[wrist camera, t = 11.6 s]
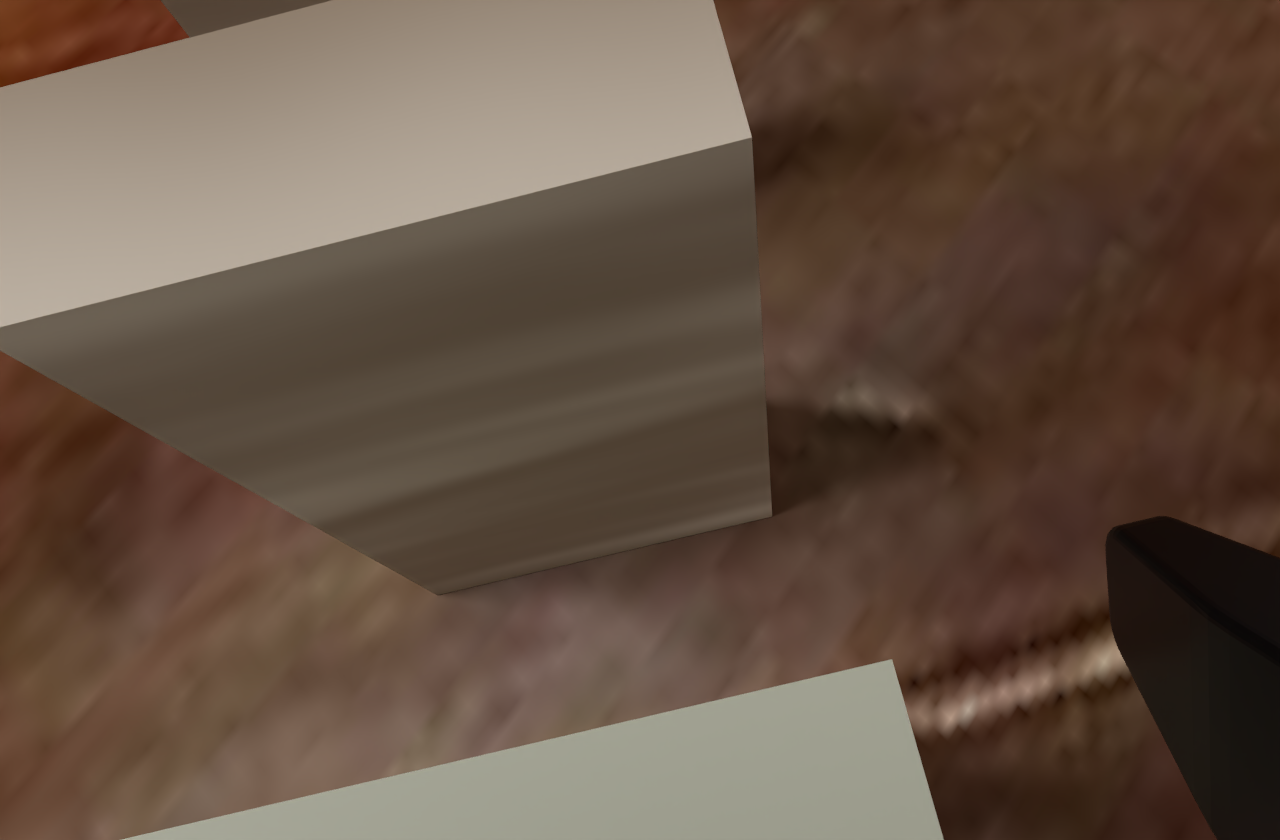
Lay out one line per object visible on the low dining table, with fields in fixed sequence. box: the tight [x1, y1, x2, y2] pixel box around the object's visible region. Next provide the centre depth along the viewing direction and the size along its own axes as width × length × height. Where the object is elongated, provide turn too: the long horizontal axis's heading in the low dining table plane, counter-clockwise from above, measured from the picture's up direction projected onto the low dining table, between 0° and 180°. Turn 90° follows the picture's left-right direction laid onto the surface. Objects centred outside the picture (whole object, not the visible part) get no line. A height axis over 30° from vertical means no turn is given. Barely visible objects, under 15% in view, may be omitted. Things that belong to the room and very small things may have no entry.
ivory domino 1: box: [161, 0, 331, 38], centre depth 14 cm, size 2×5×10 cm, turn 102°
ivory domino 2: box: [0, 0, 772, 595], centre depth 12 cm, size 2×5×10 cm, turn 102°
